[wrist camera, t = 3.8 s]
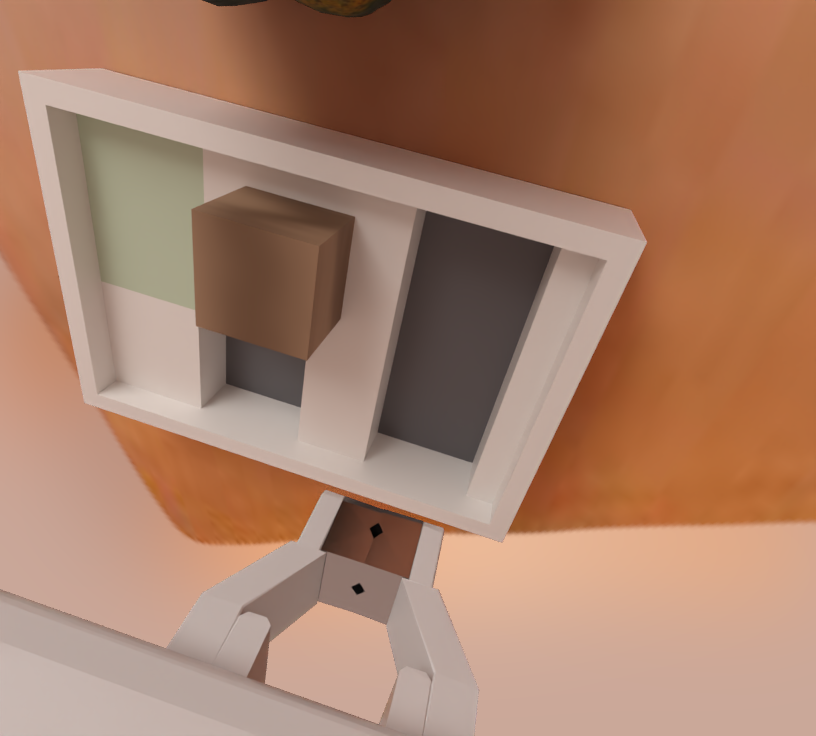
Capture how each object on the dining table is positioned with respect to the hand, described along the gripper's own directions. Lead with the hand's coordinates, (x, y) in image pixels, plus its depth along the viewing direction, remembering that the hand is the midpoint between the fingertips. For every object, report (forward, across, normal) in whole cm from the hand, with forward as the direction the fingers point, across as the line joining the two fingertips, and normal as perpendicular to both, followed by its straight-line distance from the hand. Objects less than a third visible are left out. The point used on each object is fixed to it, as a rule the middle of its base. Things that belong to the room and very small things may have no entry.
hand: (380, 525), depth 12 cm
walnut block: (+13, +8, 0) cm, 15 cm away
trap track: (+16, +7, +3) cm, 17 cm away
